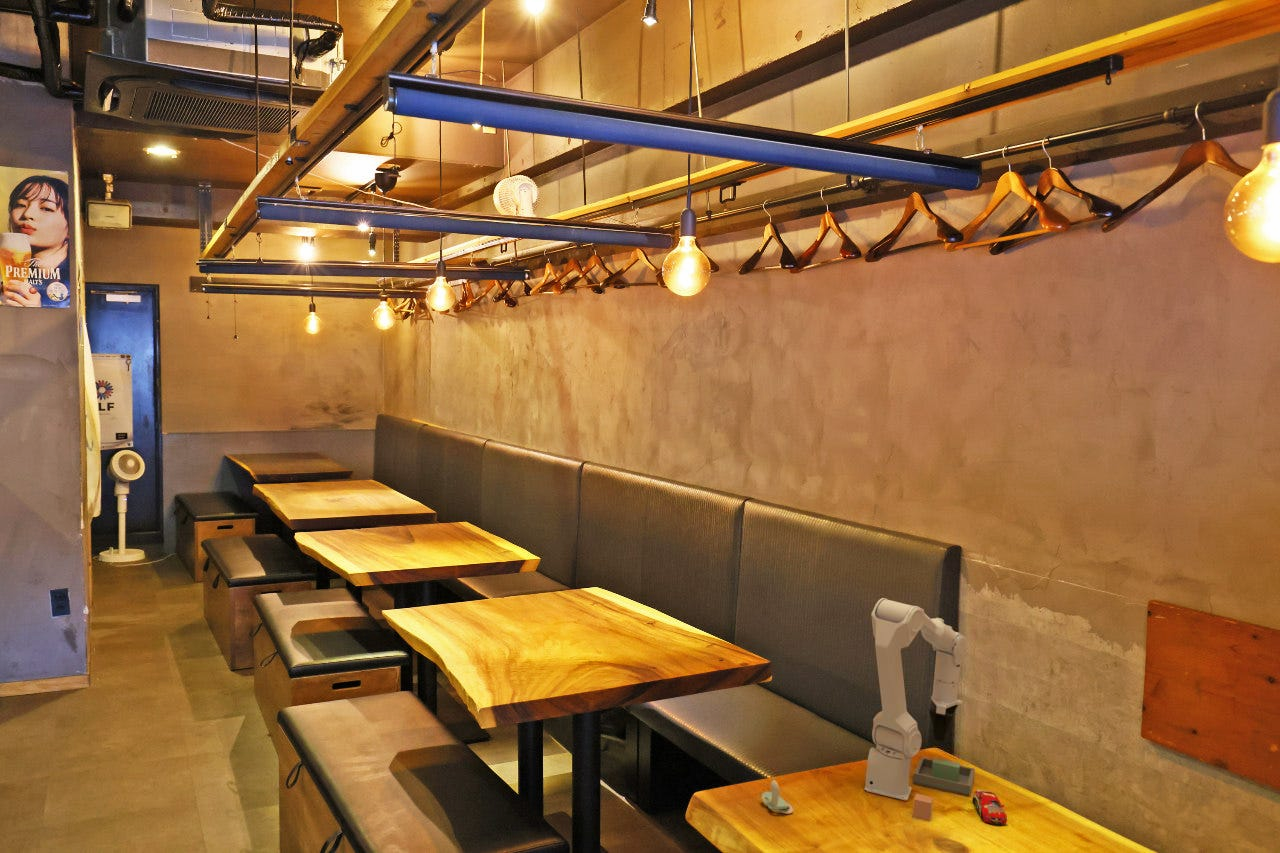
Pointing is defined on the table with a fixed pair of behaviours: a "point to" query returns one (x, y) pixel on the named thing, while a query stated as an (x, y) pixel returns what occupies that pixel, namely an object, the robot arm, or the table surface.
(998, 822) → the race car
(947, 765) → the green long brick
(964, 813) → the table surface
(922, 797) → the terracotta square brick
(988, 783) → the table surface
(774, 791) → the pacifier
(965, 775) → the gray tray
